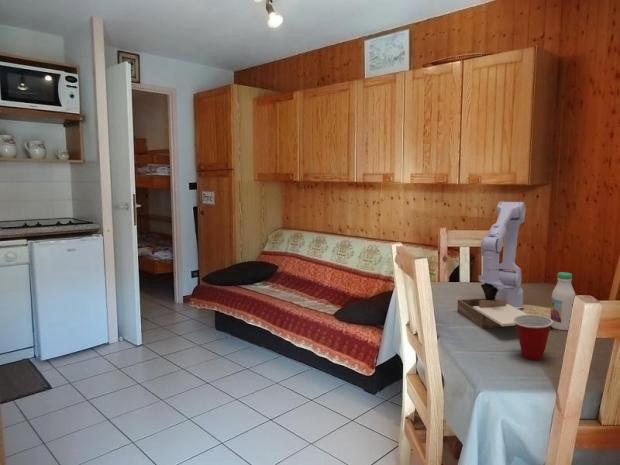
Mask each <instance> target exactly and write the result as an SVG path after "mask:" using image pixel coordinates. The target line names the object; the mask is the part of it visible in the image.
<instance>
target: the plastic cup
mask: <svg viewBox="0 0 620 465" xmlns="http://www.w3.org/2000/svg"><path fill="white" fill-rule="evenodd" d="M514 322H515V324H516V326H515V327H516V329H517V335H518V341H519V346H520V353H521V356H522V357H523V358H525V359H528V360H532V361H539V360H543V357H544V355H545V350H546V349H547V348H546V347H547V342H548V338H549V333H550V330H551V328H552V327H551V325H552V323H553V320H552V319H551V317H548V316H545V315H541V314H530V313H529V314H528V315H520V316H517V317H515V318H514Z"/></svg>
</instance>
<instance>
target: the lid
mask: <svg viewBox="0 0 620 465" xmlns="http://www.w3.org/2000/svg"><path fill="white" fill-rule="evenodd" d="M473 309H475V310H476V311H478V312H480V313H481V314H483V315H485V316H486V317H488V318H490V319H491V320H493V321H495V322H496V323H498V324H500V325H501V326H506V327H513V326H512V325H516V324H515V322H514V318H515V317H517V316H520V315H529V314H528V313H526V312H525V311H523V310H522V309H517V308H515V307H513V306H511V305H509V304H506V300H505V299H497V298H495V300H481V301H479V306H474V307H473Z"/></svg>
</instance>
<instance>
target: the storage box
mask: <svg viewBox="0 0 620 465" xmlns="http://www.w3.org/2000/svg"><path fill="white" fill-rule="evenodd" d="M481 300H486V298H485V297H483V298H482V297H481V298H466V299H465V298H464V299H457V312H458V313H459V314H460V315H462V317H465V318H466V319H468V320H469V321H471V322H472V323H474V324H475V325H477V326H478V327H480V328H482V329H490V328H491V329H493V328H503V327H504V328H505V327H507V326H501V325H500V324H498V323H496V322H495V321H493V320H491V319H490V318H488V317H486V316H485V315H483V314H481V313H480V312H478V311H476V310H475V309H473V307H474V306H479V301H481ZM511 327H517V326H516V325H512V326H511Z"/></svg>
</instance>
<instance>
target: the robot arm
mask: <svg viewBox="0 0 620 465" xmlns="http://www.w3.org/2000/svg"><path fill="white" fill-rule="evenodd" d="M526 212H527V209H526V204H525V202H524V201H503V200H502V201H501V200H500V201H499V202H498V203H497V205H496V214H497V219H496V222H495V223H493V224H492V225H491V226H490V229H489V230H488V233H487V234H486V236H484V237H482V238H481V241H480V251H481V256H482V275H478V281H479V282H480V283H483V284H480V287H481V288H482V291H483V293H484V298H486V300H495V299H505V300H506V304H509V305H511V306H513V307H522V306H523V307H524V290H523V288H522V287H521V284H522V280H523V279H522V277H523V276H522V269H521V267H519V266H518V265H517V264H516V256H517V255H516V254H517V247H518V245H517V244H518V238H519V229H520V225H521V224H524V222H525V217H526ZM502 249H503V253H502V261H501V263H500V253H501V251H502ZM496 296H497V297H496Z"/></svg>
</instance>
